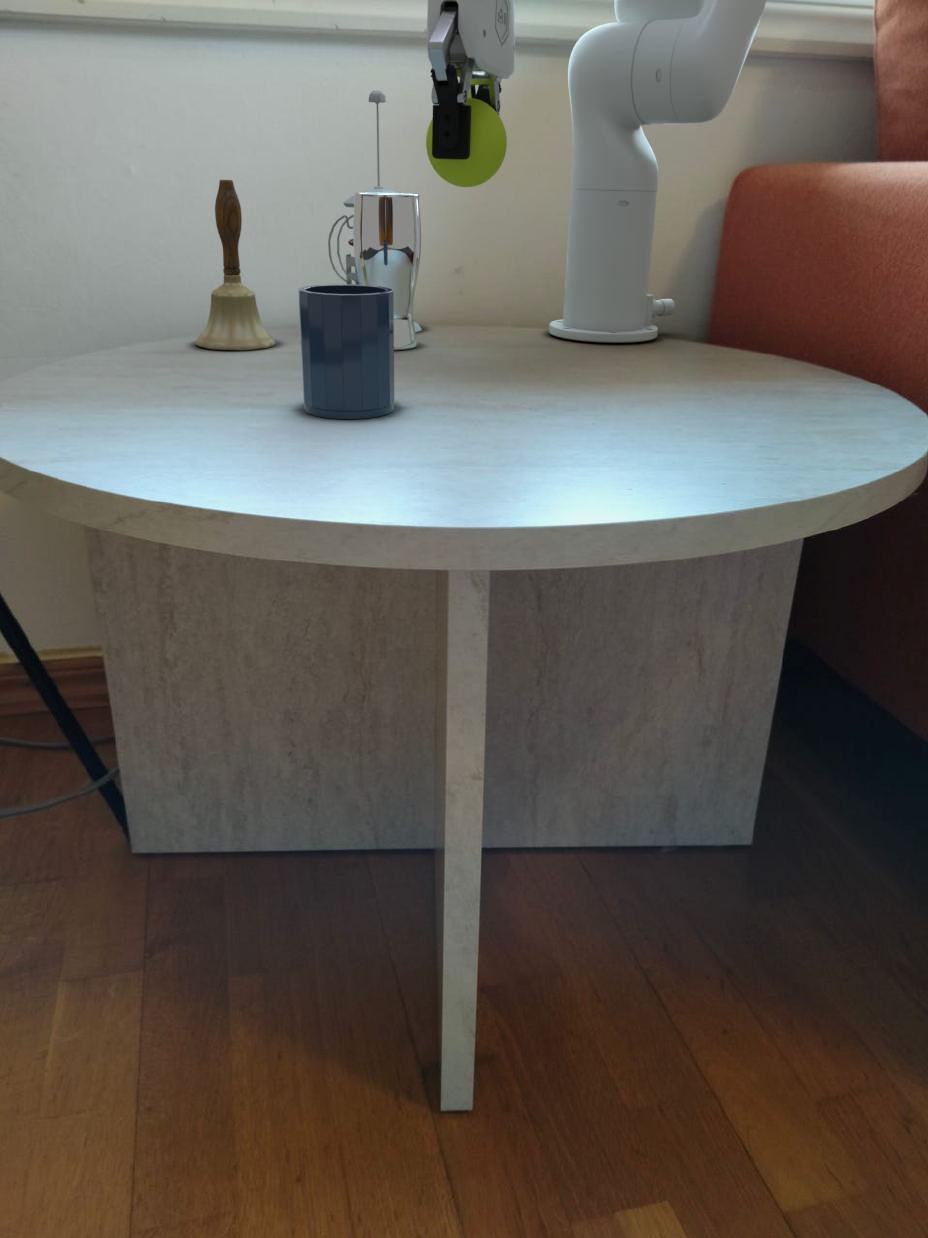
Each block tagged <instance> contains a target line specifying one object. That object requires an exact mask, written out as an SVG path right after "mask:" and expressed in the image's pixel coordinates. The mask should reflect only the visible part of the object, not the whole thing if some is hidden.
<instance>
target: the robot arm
mask: <svg viewBox="0 0 928 1238" xmlns="http://www.w3.org/2000/svg"><path fill="white" fill-rule="evenodd" d="M766 4H767V0H614V5H613V7H614V8H613V9H614V14H615V15H614V16H615V19H616V21H615V22H609V23H608V22H607V23H604V24H601V25H598V26H597V25H596V26H595V27H593V28H591V29H589V30H588V31H586V32H585V33H583V34H582V36H581V37H579V39H578V40H577V41H576V43H575V45H574V46H573V48H572V50H571V53H570V57H569V61H568V67H567V83H568V84H567V85H568V94H569V103H570V114H571V127H572V156H571V157H572V161H571V164H572V165H571V177H570V178H571V182H570V193H569V195H570V196H569V209H568V213H569V214H568V227H567V229H568V231H567V245H566V246H567V247H566V260H565V277H564V291H563V293H564V294H563V309H562V310H563V311H562V319H556V320H552V321H551V322H549V325H548V332H549V334H550V335H552V336H554V337H557V338H561V339H565V340H571V341H580V342H590V343H609V344H611V343H613V344H616V343H618V344H619V343H620V344H621V343H639V342H640V343H641V342H647V341H653V340H654V339H656V338H657V337H658V334H659V333H658V331H659V328H658V326H657V325H655V324H652V320H653V319H655V318H656V317H665V316H667V317H668V316H672V315H673V314H674V313H675V311H676V302H675V301H674V299H672V298H659V299H657V300H656V299H655V297H654V296H655V295H654V294H650V293H649V294H648V292H649V283H650V272H651V262H652V261H651V259H652V250H653V239H654V229H655V219H656V218H655V217H656V210H657V209H656V208H657V196H658V189H659V177H660V175H659V166H658V161H657V157H656V155H655V153H654V151H653V148H652V147H651V145H650V143H649V140H648V139H647V137H646V135H645V132H644V131H643V127H642V126H651V125H693V124H694V125H696V124H703V123H708V122H710V121H713V120H714V119H715V118H717V117H718V116H720V115H721V113H722V112H723V111H724V109H725V108H726V107H727V105H728V103H729V101H730V99H731V97H732V95H733V92H734V90H735V87H736V86H737V82H738V80H739V77H740V75H741V72H742V69H743V67H744V64H745V62H746V59H747V57H748V54H749V51H750V49H751V46H752V43H753V41H754V39H755V36H756V33H757V30H758V28H759V25H760V23H761V20H762V16H763V14H764V10H765V7H766ZM426 9H427V11H426V48H427V49H426V50H427V58H428V60H429V63H430V65H431V69H430V77H431V79H432V89H431V103H432V118H433V123H432V156H433V157H434V158H436V159H462V160H466V159H468V158H469V156H470V136H471V106H470V105H466V104H467V100H468V98H475V99H478V100H481V101H483V102H485V103H487V104H488V105H489V106H491V107H492V108H493V109H494V110H495V111H496V112H497V114H498V115H499V116H500V111H501V93H502V85H501V84H502V80H503V79H504V80H508V79H510V78H511V77H512V76H513V74H514V73H515V66H516V0H427V7H426ZM476 86H477V90H476Z"/></svg>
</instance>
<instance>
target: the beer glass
mask: <svg viewBox="0 0 928 1238" xmlns="http://www.w3.org/2000/svg"><path fill="white" fill-rule="evenodd" d="M353 195H354V208H353V215H354V217H352V220H353V221H352V226H353V229H352V239H353V243H354V246H353V255H354V257H355V262H356V268H357V274H358V279H359V285H371V286H381V287H386V288H390V289H392V290H393V304H394V351H401V350H403V351H404V350H410V349H414V348H416V347H417V345H418V340H417V335H416V332H415V328H414V322H415V321H414V302H415V294H416V286H417V283H418V282H417V281H418V277H419V276H418V275H419V268H420V262H421V261H420V260H421V253H422V226H421V225H422V222H421V210H420V209H421V208H420V194H419V193H404V192H397V193H358V192H354V193H353Z"/></svg>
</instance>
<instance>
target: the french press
mask: <svg viewBox="0 0 928 1238" xmlns="http://www.w3.org/2000/svg"><path fill="white" fill-rule="evenodd" d="M368 102H369V103H375V104H376V155H377V156H376V158H377V159H376V163H377V169H376V170H377V185H376V186H375V185H374V186H373V188H368V189H364V190H360V191H358V192H357V193H398V191H394V190H391V189H387V188H384V187H383V186H382V185H381V184H380V183H381V182H380V181H381V180H380V122H379V121H380V120H379V118H380V117H379V116H380V115H379V104H381V103H386V102H387V101H386V95H385V93H384V92H383V91H382V90H379V89H375V90H372V91H371V92H370V93H369V95H368ZM342 204H343V206H344V207H345V208H352V209H354V194H353V195H351V196H350V197H349V198H347V199H346V200H344V201H343V202H342ZM353 217H354V214H351V215H349V217H348V216H347V215H346V214H343V215H342V216H340V217H339V218H337V219H336V221H334V223H333V225H332V226H331V229H330V231H329V234H328V239H327V240H328V242H327V247H328V258H329V261H330V265H331V267H332V270H333V271H334V272H335V274H336V275H337V277H338V278H339V279H341V280H342V281H343V282H345V283H346V284H350V285H359V279H358V274H357V268H356V262H355V256H352V253H348V254H345V267H344V265H343V261H342V258H341V253H340V237H341V233H342V230H343V229H344V228H343V227H344V226H345V225H346V227H347V228H348V229H349V230H353V225H350V224H349V223H350V220H351V219H353ZM344 218H345V220H344V221H343V222H342V223H341V226H340V228H339V230H338V233H337V237H336V254H337V258H338V261H339V265H340V267H341V270H342V271H343V272H344V274H345V277H346V279H345V278H344V277H343V276H342V275H341V274H340V273H339V272H338V271H337V269H336V267H335V265H334V262H333V258H332V250H331V248H332V247H331V239H332V235H333V233H334V230H335V227H336V226H337V224H338V223H339V222H340V221H341V220H343V219H344ZM347 243H348V245H349V246H352V247H354V243H353V238H351V239H349V240H348V242H347ZM352 267H353V268H354V272H352ZM353 282H354V284H353ZM414 328H415V333H418V332H420V331H421V332H422V327H421V326H420V324H419V323H418V322H417V321H414Z"/></svg>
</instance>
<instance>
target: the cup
mask: <svg viewBox="0 0 928 1238" xmlns="http://www.w3.org/2000/svg"><path fill="white" fill-rule="evenodd" d="M297 292H298V307H299V308H298V310H299V331H300V351H301V353H300V355H301V369H302V370H301V373H302V374H301V375H302V376H301V377H302V395H303V397H302V399H303V410H304V411H305V412H306V413H307V414H308V415H311V416H315V417H319V418H325V419H334V420H335V419H336V420H361V419H372V418H378V417H383V416H386V415H389V414H391V413H392V412H393V411H394V410H395V409H394V408H395V404H394V403H395V350H394V304H393V290H392V289H390V288H386V287H381V286H371V285H356V284H354V285H350V284H347V283H346V284H342V283H341V284H339V283H337V284H335V283H334V284H315V285H305V286H303V287H299V288H298V291H297Z"/></svg>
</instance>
